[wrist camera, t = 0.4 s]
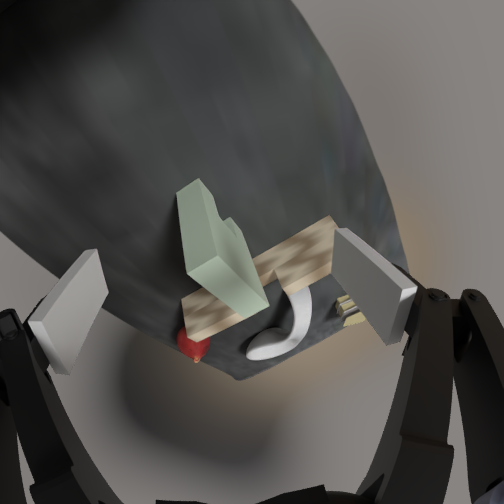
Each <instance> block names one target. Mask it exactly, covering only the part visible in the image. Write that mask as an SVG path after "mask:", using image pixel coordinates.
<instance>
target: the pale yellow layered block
mask: <svg viewBox="0 0 504 504" xmlns="http://www.w3.org/2000/svg"><path fill="white" fill-rule="evenodd" d="M335 307H336V309H337V314H339V315H340V317H341V320H340V321H341V322H343V321H345V323H344V326H348V325H352V324H356V323H360V322H362V321H365V320H366V318H365V316H364V315H363V314H362V312H361V311H360V310H359V308H358V307H357V306H356V304H355V303H354V302H353V301H352V299H351V298H350V297H349V295H346V296H343V297H340V298H337V302H336V306H335ZM344 326H343V327H344Z"/></svg>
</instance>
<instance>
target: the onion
mask: <svg viewBox="0 0 504 504" xmlns="http://www.w3.org/2000/svg"><path fill="white" fill-rule="evenodd" d="M177 344H178V347H179V349H180V351H181V352H182V353H183V354H185V355H186V356H188V357H190V358H192V359H193V361H194V362H195V363H197V362H198V361H199V360H200V359H201V358H202V357H203V356H204V355H205V354H206V352H207V351H208V349H209V346H210V336H209V337H207V338H205V339H203V340H201V341H199V342H195V341H193V340H191V339H189V338H188V337H187V333H186V327H185V326H183V327H182V328H181V329H180V330H179V332H178V334H177Z"/></svg>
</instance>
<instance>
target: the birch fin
mask: <svg viewBox="0 0 504 504" xmlns="http://www.w3.org/2000/svg"><path fill="white" fill-rule="evenodd" d="M335 229H339V228H338V226H337V225H336V223H335V222H334V221H333V219H332V218H331V217H330V215H328V216H327V217H325V218H323V219H321V220H320V221H318V222H316V223H315V224H313V225H311V226H309V227H308V228H306V229H304V230H302V231H301V232H299V233H297V234H295V235H294V236H292V237H290V238H288V239H287V240H285V241H283V242H281V243H280V244H278V245H276V246H274V247H273V248H271V249H269V250H267V251H266V252H264V253H262V254H260V255H259V256H257V257H255V258H253V259H252V261H253V263H254V266H255V269H256V271H257V274H258V277H259V279H260V282H261V285H262V287H263V286H265V285H267V284H269V283H270V282H272V281H274V280H276V279H279V282H280V284H281V286H282V289H283V290H284V291H285V292H286V293H287V295H288V296H290V295H292V294H294V293H295V292H297V291H299V290H301V289H303V288H305V287H306V286H308V285H310V284H312V283H314V282H315V281H317V280H319V279H321V278H323V277H324V276H326V275H328V274H330V273H331V266H332V255H333V244H334V231H335ZM181 301H182V308H183V314H184V321H185V327H186V333H187V337H188V338H189V339H191V340H193V341H195V342H199V341H201V340H203V339H205V338H207V337H209V336H211V335H213V334H216V333H218V332H220V331H222V330H224V329H226V328H228V327H230V326H232V325H234V324H236V323H238V322H240V321H242V320H244V319H246V318H243V317H242V316H241V315H239V314H238V313H237V312H235V311H234V310H233V309H231V308H230V307H229V306H227V305H226V304H225V303H223V302H222V301H221V300H220V299H218V298H217V297H216V296H214V295H213V294H212V293H211V292H209V291H208V290H207V289H205V288H204V287H202V288H200V289H199V290H197V291H195V292H193V293H191V294H190V295H188V296H186V297H184V298H183V299H181ZM255 314H256V313H255ZM253 315H254V314H253ZM251 316H252V315H251ZM249 317H250V316H249ZM247 318H248V317H247Z"/></svg>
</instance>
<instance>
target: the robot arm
mask: <svg viewBox="0 0 504 504" xmlns="http://www.w3.org/2000/svg"><path fill="white" fill-rule="evenodd" d="M16 1H17V0H0V13H1V12H3V11H4V10H5V9H7V8H8V7H9V6H11V5H12V4H13V3H14V2H16ZM331 274H332V275H333V276H334V278H335V279H336V280H337V281H338V283H339V284H340V285H341V287H342V288H343V289H344V290H345V292H346V293H347V294H348V295H349V297H350V298H351V299H352V301H353V302H354V303H355V304H356V306H357V307H358V308H359V310H360V311H361V312H362V314H363V315H364V316H365V318H366V319H367V320H368V322H369V323H370V324H371V326H372V327H373V328H374V330H375V331H376V332H377V334H378V335H379V336H380V337H381V339H382V340H383V342H384V343H385V344H386V345H390V344H394V343H397V342H400V341H401V338H402V336H403V333H404V330H405V331H406V332H407V334H408V335H409V337H408V340H407V343H406V346H405V348H404V351H403V353H402V355H403V356H404V358H403V363H402V367H401V372H400V376H399V380H398V384H397V388H396V392H395V395H394V399H393V402H392V406H391V409H390V413H389V416H388V420H387V422H386V425H385V428H384V431H383V434H382V438H381V440H380V443H379V446H378V448H377V451H376V454H375V456H374V459H373V461H372V464H371V466H370V469H369V471H368V473H367V475H366V477H365V478H364V480H363V482H362V483H361V485H360V487H359V488H358V490H357V492H356V494H352V493H347V492H340V491H326V490H325V487H324V485H319V486H315V487H311V488H307V489H302V490H298V491H293V492H288V493H283V494H280V495H278V496H276V497H273V498H270V499H268V500H265V501H262V502H259V503H257V504H443V501H444V498H445V494H446V490H447V486H448V482H449V478H450V473H451V468H452V463H453V457H454V448H453V446H452V445H448V444H447V437H448V429H449V422H450V414H451V402H452V389H453V377H454V381H455V386H456V390H457V395H458V400H459V405H460V411H461V416H462V423H463V430H464V437H465V445H466V455H467V470H468V483H469V492H470V497H471V503H472V504H504V328H503V326H502V324H501V323H500V321H499V319H498V317H497V315H496V313H495V312H494V310H493V309H492V307H491V305H490V304H489V302H488V300H487V298H486V297H485V296H484V295H483V294H482V293H481V292H480V291H478V290H475V289H465V290H463V292H462V295H461V298H460V299H450V297H449V295H448V294H446V293H445V292H443V291H442V290H439V289H434V288H430V289H426V288H424V287H423V286H422V285H421V284H420V283H419V282H418V281H416V280H415V279H414V278H412V276H411V275H409V274H408V273H407V272H406V271H405V270H403V269H402V268H401V267H399V266H397V265H395V264H393V263H390V262H388V261H387V260H386V259H385V258H384V257H382V256H381V255H380V254H379V253H378V252H376V251H375V250H374V249H373V248H371V247H370V246H369V245H368V244H366V243H365V242H364V241H363V240H361V239H360V238H359V237H358V236H356V235H355V234H354V233H353V232H351V231H350V230H349V229H347V228H340V229H335V231H334V244H333V255H332V266H331ZM108 293H109V292H108V289H107V285H106V282H105V278H104V275H103V271H102V267H101V263H100V260H99V256H98V251H97V249H92V250H85V251H84V252H83V253H82V254H81V256H80V257H79V258H78V259H77V260H76V261H75V262H74V263H73V265H72V266H71V267H70V268H69V269H68V270H67V272H66V273H65V274H64V275H63V276H62V277H61V279H60V280H59V281H58V282H57V284H56V285H55V286H54V287H53V289H52V290H51V291H50V292H49V293H48V295H46V296H45V297H44V298H42V299H41V300H40V301H39V303H38V304H37V305H36V307H35V308H34V309H33V311H32V312H31V313H30V315H29V316H28V317H27V319H26V320H25V321H24V323H23V324H22V323H21V321H20V319H19V317H18V315H17V313H16V311H15V309H6V310H3V311H1V312H0V504H27V502H26V497H25V493H24V488H23V483H22V477H21V470H20V462H19V454H18V443H17V433H18V436H19V440H20V443H21V446H22V449H23V452H24V455H25V458H26V460H27V463H28V465H29V468H30V471H31V473H32V476H33V478H34V481H35V483H34V484H32V485H30V489H29V490H30V493H31V496H32V498H33V501H34V502H35V504H124V503H122V502H121V500H120V499H119V498H118V497H117V496H116V494H115V493H114V492H113V490H112V489H111V488H110V487H109V485H108V483H107V482H106V481H105V479H104V478H103V476H102V475H101V473H100V472H99V471H98V469H97V467H96V466H95V464H94V463H93V461H92V459H91V458H90V456H89V454H88V453H87V451H86V449H85V448H84V446H83V444H82V442H81V440H80V439H79V437H78V435H77V433H76V431H75V429H74V427H73V425H72V424H71V421H70V419H69V417H68V416H67V413H66V411H65V409H64V407H63V405H62V403H61V400H60V398H59V396H58V393H57V391H56V389H55V386H54V384H53V382H52V379H51V376H50V375H49V373H48V371H47V368H48V366H49V364H50V365H51V366H52V368H53V370H54V372H55V373H56V374H65V375H70V373H71V370H72V368H73V365H74V363H75V361H76V358H77V356H78V354H79V351H80V349H81V347H82V345H83V343H84V341H85V338H86V336H87V334H88V332H89V330H90V328H91V325H92V324H93V322H94V320H95V318H96V316H97V314H98V312H99V310H100V308H101V306H102V304H103V302H104V300H105V298H106V296H107V295H108ZM156 504H206V503H201V502H197V501H165V500H164V501H163V500H156Z"/></svg>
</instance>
